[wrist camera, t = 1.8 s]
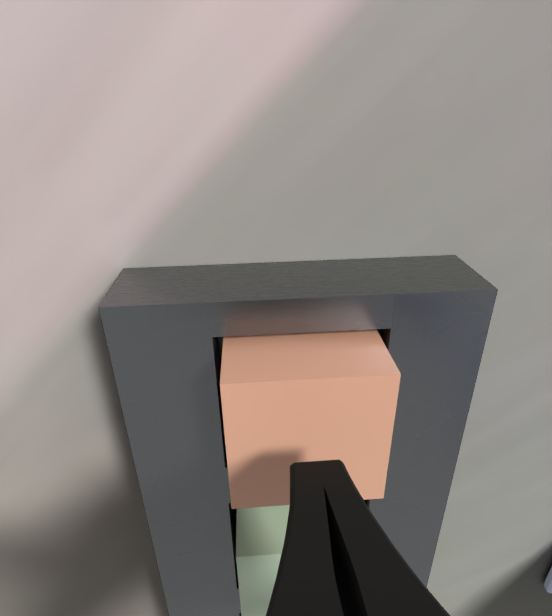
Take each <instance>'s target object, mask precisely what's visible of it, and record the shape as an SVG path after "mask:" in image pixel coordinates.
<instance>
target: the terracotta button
mask: <svg viewBox="0 0 552 616" xmlns="http://www.w3.org/2000/svg"><path fill="white" fill-rule="evenodd" d="M400 378H401V374H400V372H399V370H398V368H397V366H396V364H395V362H394V361H393V359H392V357H391V355H390V353H389V351H388V350H387V348H386V346H385V344H384V342H383V340H382V339H381V337H380V335H379V333H378V331H377V329H369V330H349V331H329V332H308V333H288V334H268V335H247V336H227V337H223V349H222V362H221V375H220V392H221V402H222V413H223V424H224V434H225V445H226V456H227V466H228V477H229V488H230V498H231V509H238V508H252V507H267V506H281V505H290V465H292V464H293V463H295V462H310V461H324V460H341V461H342V462H343V463H344V465H345V467H346V469H347V471H348V473H349V475H350V477H351V479H352V481H353V482H354V484H355V486H356V488H357V489H358V491H359V493H360V495H361V496H362V498H363V500H367V499H381V498H384V491H385V484H386V477H387V470H388V463H389V456H390V448H391V441H392V434H393V427H394V420H395V413H396V406H397V399H398V392H399V385H400Z"/></svg>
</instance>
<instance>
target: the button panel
mask: <svg viewBox="0 0 552 616" xmlns="http://www.w3.org/2000/svg"><path fill="white" fill-rule="evenodd" d="M497 291H498V289H497V288H495V287H494V286H493V285H492V284H490V283H489V282H488V281H487V280H485V279H484V278H483V277H482V276H481V275H479V274H478V273H477V272H476V271H474V270H473V269H472V268H471V267H469V266H468V265H467V264H466V263H464V262H463V261H462V260H461V259H460V258H458V257H457V256H456V255H447V256H423V257H398V258H373V259H348V260H323V261H299V262H274V263H249V264H224V265H200V266H175V267H150V268H125V269H123V270H122V272H121V273H120V275H119V276H118V278H117V280H116V281H115V283H114V284H113V286H112V287H111V289H110V290H109V292H108V294H107V295H106V297H105V298H104V300H103V301H102V303H101V304H100V306H99V311H100V316H101V320H102V324H103V329H104V333H105V337H106V342H107V346H108V351H109V355H110V359H111V364H112V368H113V372H114V377H115V381H116V385H117V390H118V394H119V399H120V403H121V407H122V412H123V416H124V420H125V425H126V429H127V434H128V438H129V442H130V447H131V451H132V455H133V460H134V464H135V468H136V473H137V477H138V482H139V486H140V490H141V495H142V499H143V503H144V508H145V512H146V517H147V521H148V525H149V530H150V534H151V538H152V543H153V547H154V551H155V556H156V560H157V565H158V569H159V573H160V578H161V582H162V586H163V591H164V595H165V600H166V604H167V608H168V613H169V616H241V605H240V595H239V584H238V573H237V562H236V522H237V509H231V498H230V488H229V477H228V466H227V456H226V445H225V434H224V424H223V413H222V402H221V392H220V375H221V362H222V349H223V337H227V336H247V335H268V334H288V333H308V332H329V331H349V330H369V329H377V331H378V333H379V335H380V337H381V339H382V340H383V342H384V344H385V346H386V348H387V350H388V351H389V353H390V355H391V357H392V359H393V361H394V362H395V364H396V366H397V368H398V370H399V372H400V374H401V378H400V385H399V392H398V399H397V406H396V413H395V420H394V427H393V434H392V441H391V448H390V456H389V463H388V470H387V477H386V484H385V491H384V498H381V499H367V500H364V501H365V503H366V505H367V506H368V508H369V509H370V511H371V512H372V514H373V516H374V517H375V519H376V520H377V522H378V523H379V525H380V526H381V527H382V529H383V530H384V532H385V533H386V535H387V536H388V538H389V539H390V541H391V542H392V543H393V545H394V546H395V548H396V549H397V550H398V552H399V553H400V555H401V556H402V557H403V559H404V560H405V561H406V563H407V564H408V565H409V567H410V568H411V569H412V570H413V572H414V573H415V574H416V576H417V577H418V578H419V579H420V581H421V582H422V583H423V584H424V586H425V587H427V583H428V579H429V575H430V570H431V566H432V562H433V558H434V554H435V550H436V545H437V541H438V537H439V533H440V529H441V525H442V520H443V516H444V512H445V508H446V504H447V499H448V495H449V491H450V487H451V483H452V479H453V474H454V470H455V466H456V462H457V458H458V454H459V449H460V445H461V441H462V437H463V433H464V429H465V424H466V420H467V416H468V412H469V408H470V403H471V399H472V395H473V391H474V387H475V383H476V378H477V374H478V370H479V366H480V362H481V358H482V353H483V349H484V345H485V341H486V337H487V333H488V328H489V324H490V320H491V316H492V312H493V307H494V303H495V299H496V295H497Z"/></svg>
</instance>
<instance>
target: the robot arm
mask: <svg viewBox="0 0 552 616" xmlns="http://www.w3.org/2000/svg"><path fill="white" fill-rule="evenodd" d="M544 587H545V589H546V591H547V592H548V593H550V594H552V567H551V569H550V571H549V574H548V576H547V578H546V580H545V583H544ZM266 616H450V615H449V614H448V613H447V611H446V610H445V609H444V608H443V607H442V606H441V605H440V603H439V602H438V601H437V600H436V599H435V598H434V596H433V595H432V594H431V593H430V592H429V590H428V589H427V588H426V587H425V586H424V584H423V583H422V582H421V581H420V579H419V578H418V577H417V576H416V574H415V573H414V572H413V570H412V569H411V568H410V567H409V565H408V564H407V563H406V561H405V560H404V559H403V557H402V556H401V555H400V553H399V552H398V550H397V549H396V548H395V546H394V545H393V543H392V542H391V541H390V539H389V538H388V536H387V535H386V533H385V532H384V530H383V529H382V527H381V526H380V525H379V523H378V522H377V520H376V519H375V517H374V516H373V514H372V512H371V511H370V509H369V508H368V506H367V505H366V503H365V501H364V500H363V498H362V496H361V495H360V493H359V491H358V489H357V488H356V486H355V484H354V482H353V481H352V479H351V477H350V475H349V473H348V471H347V469H346V467H345V465H344V463H343V462H342V461H341V460H324V461H310V462H295V463H293V464H292V465H290V507H289V515H288V521H287V527H286V534H285V540H284V545H283V549H282V554H281V558H280V563H279V567H278V572H277V576H276V580H275V584H274V588H273V592H272V595H271V599H270V602H269V606H268V609H267V613H266Z"/></svg>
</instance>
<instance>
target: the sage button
mask: <svg viewBox="0 0 552 616" xmlns="http://www.w3.org/2000/svg"><path fill="white" fill-rule="evenodd" d="M289 507H290V505H281V506H267V507H252V508H238V509H237V522H236V562H237V573H238V584H239V595H240V605H241V616H266V613H267V609H268V606H269V602H270V599H271V595H272V592H273V588H274V584H275V580H276V576H277V572H278V567H279V563H280V558H281V554H282V549H283V545H284V540H285V534H286V527H287V521H288V515H289Z"/></svg>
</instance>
